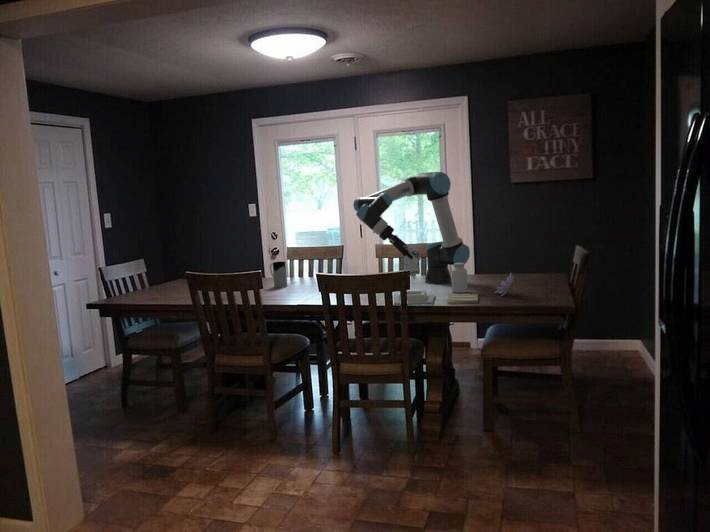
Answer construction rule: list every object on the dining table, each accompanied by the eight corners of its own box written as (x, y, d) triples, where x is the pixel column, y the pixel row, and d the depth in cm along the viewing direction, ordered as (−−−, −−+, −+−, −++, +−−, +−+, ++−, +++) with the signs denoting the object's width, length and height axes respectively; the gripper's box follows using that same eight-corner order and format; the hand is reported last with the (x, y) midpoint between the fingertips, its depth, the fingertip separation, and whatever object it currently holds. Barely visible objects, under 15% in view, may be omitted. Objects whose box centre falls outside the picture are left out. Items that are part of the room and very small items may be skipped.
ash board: (449, 296, 295) (449, 294, 295) (477, 295, 293) (477, 293, 292) (447, 303, 278) (447, 301, 278) (478, 303, 275) (477, 300, 275)
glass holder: (278, 288, 353) (276, 263, 351) (265, 286, 364) (263, 262, 362) (291, 286, 359) (289, 261, 357) (277, 284, 369) (275, 260, 367)
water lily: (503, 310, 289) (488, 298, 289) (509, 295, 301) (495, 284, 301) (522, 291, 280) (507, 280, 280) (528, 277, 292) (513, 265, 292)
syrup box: (409, 275, 285) (408, 245, 283) (403, 274, 290) (402, 244, 288) (420, 274, 287) (418, 244, 285) (414, 272, 292) (412, 243, 290)
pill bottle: (467, 293, 301) (466, 264, 299) (451, 293, 303) (450, 264, 301) (467, 290, 309) (466, 261, 307) (452, 290, 311) (451, 262, 309)
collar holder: (395, 297, 302) (395, 289, 301) (435, 296, 298) (434, 288, 297) (390, 305, 282) (389, 297, 282) (432, 304, 278) (432, 296, 278)
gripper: (381, 233, 299) (415, 264, 298) (375, 237, 279) (411, 270, 278) (391, 222, 297) (425, 253, 296) (385, 226, 277) (421, 258, 276)
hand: (418, 261), depth 287 cm, fingers closed on syrup box, 7 cm apart
